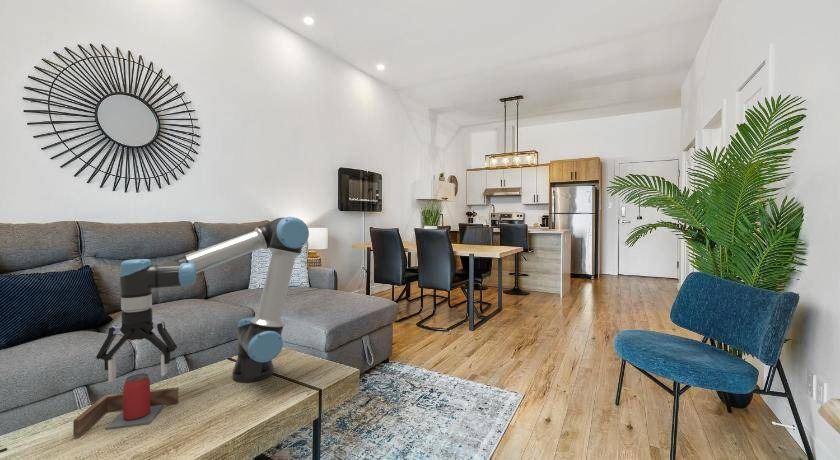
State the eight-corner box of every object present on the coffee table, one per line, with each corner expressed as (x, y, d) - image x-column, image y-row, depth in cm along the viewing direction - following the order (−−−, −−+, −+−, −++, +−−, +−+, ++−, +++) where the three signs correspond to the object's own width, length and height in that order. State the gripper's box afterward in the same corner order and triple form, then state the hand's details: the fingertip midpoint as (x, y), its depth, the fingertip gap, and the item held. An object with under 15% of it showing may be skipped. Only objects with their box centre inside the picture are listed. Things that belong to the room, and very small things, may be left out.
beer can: (117, 419, 108) (117, 380, 108) (138, 408, 115) (138, 371, 115) (135, 422, 107) (135, 382, 107) (155, 411, 113) (155, 373, 113)
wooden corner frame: (178, 401, 121) (178, 387, 121) (160, 426, 106) (160, 409, 106) (104, 410, 115) (104, 395, 115) (73, 438, 100) (73, 420, 100)
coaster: (163, 406, 118) (163, 404, 118) (149, 424, 107) (149, 422, 107) (123, 411, 114) (123, 409, 114) (105, 429, 104) (105, 427, 104)
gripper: (187, 303, 118) (188, 367, 118) (94, 309, 110) (96, 377, 111) (179, 308, 111) (180, 376, 111) (79, 315, 103) (82, 388, 104)
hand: (138, 377), depth 111 cm, fingers open, 13 cm apart
